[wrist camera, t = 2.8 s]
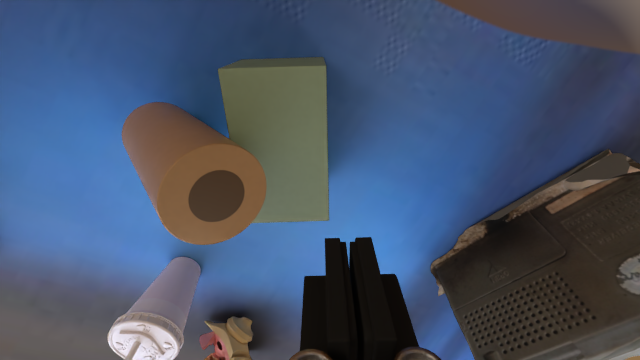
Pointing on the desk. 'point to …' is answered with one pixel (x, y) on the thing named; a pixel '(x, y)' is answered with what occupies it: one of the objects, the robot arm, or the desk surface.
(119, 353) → the smoothie
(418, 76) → the desk surface
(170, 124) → the paper roll
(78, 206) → the desk surface
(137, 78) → the desk surface
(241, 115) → the green block
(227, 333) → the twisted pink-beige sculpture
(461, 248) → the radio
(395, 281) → the robot arm
